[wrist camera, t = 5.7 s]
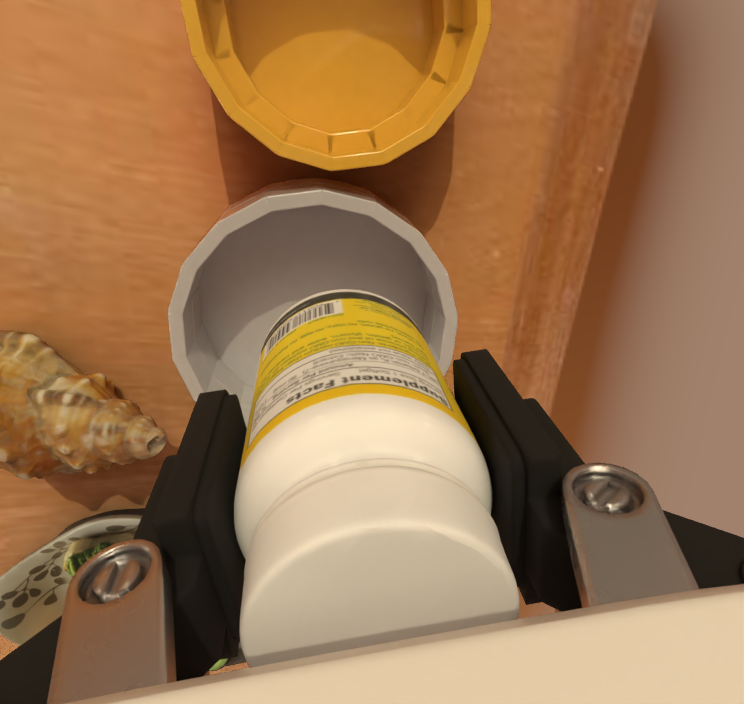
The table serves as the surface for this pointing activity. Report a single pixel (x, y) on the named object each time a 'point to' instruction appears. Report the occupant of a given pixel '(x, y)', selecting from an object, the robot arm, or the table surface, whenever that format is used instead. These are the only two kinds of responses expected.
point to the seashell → (64, 415)
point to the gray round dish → (297, 277)
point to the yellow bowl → (338, 71)
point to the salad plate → (63, 575)
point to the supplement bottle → (360, 490)
